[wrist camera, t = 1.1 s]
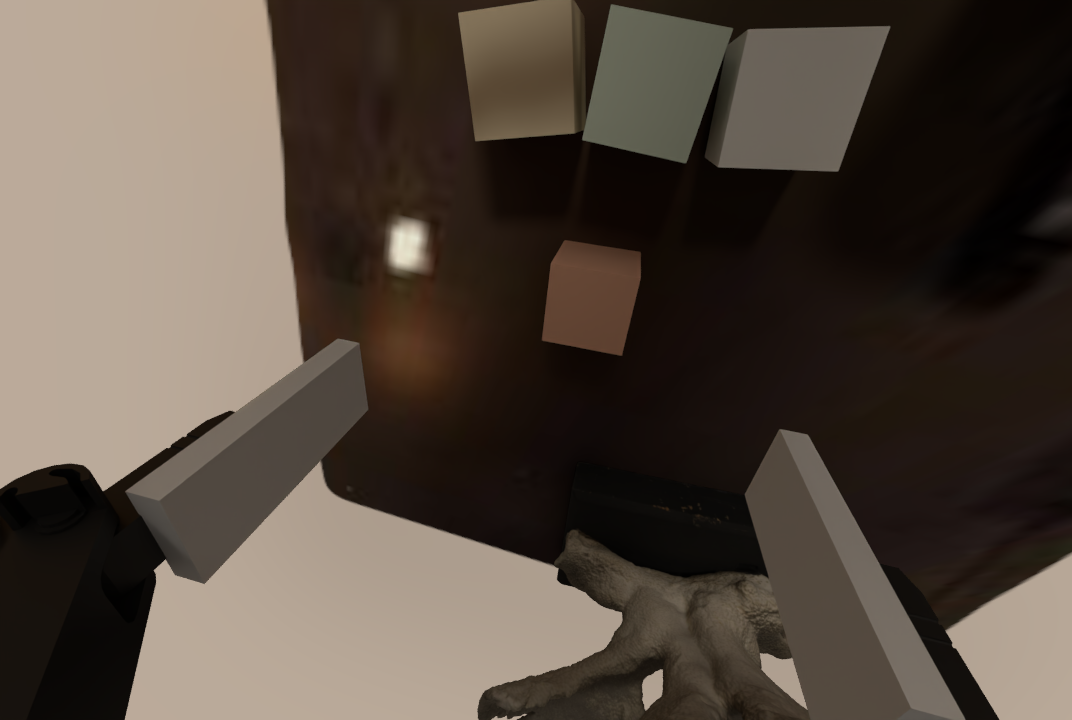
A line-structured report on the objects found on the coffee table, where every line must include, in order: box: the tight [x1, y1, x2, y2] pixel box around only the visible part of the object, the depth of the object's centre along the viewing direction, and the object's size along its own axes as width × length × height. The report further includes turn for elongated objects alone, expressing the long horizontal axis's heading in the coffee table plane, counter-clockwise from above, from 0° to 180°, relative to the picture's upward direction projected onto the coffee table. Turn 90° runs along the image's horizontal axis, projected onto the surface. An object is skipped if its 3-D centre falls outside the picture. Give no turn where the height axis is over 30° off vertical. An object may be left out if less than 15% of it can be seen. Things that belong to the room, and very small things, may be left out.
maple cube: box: [458, 0, 586, 141], centre depth 21 cm, size 5×5×5 cm
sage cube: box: [582, 4, 733, 163], centre depth 20 cm, size 5×5×5 cm
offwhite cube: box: [705, 26, 890, 171], centre depth 19 cm, size 5×5×5 cm
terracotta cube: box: [542, 240, 641, 356], centre depth 26 cm, size 5×5×5 cm
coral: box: [478, 462, 811, 720], centre depth 29 cm, size 25×20×21 cm
